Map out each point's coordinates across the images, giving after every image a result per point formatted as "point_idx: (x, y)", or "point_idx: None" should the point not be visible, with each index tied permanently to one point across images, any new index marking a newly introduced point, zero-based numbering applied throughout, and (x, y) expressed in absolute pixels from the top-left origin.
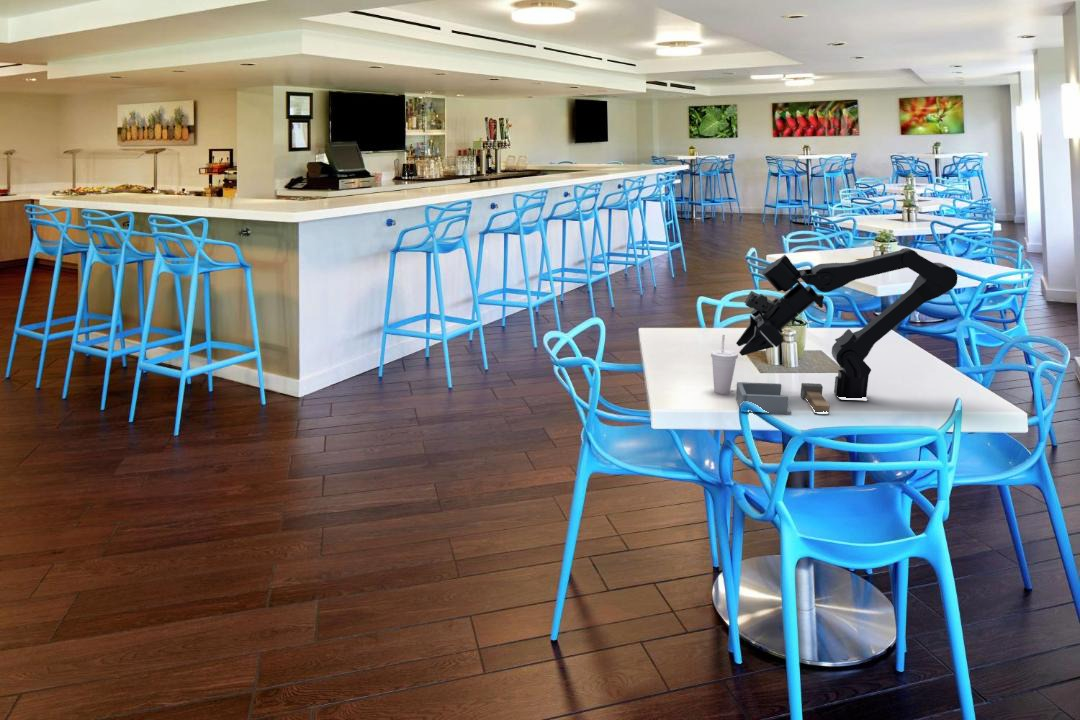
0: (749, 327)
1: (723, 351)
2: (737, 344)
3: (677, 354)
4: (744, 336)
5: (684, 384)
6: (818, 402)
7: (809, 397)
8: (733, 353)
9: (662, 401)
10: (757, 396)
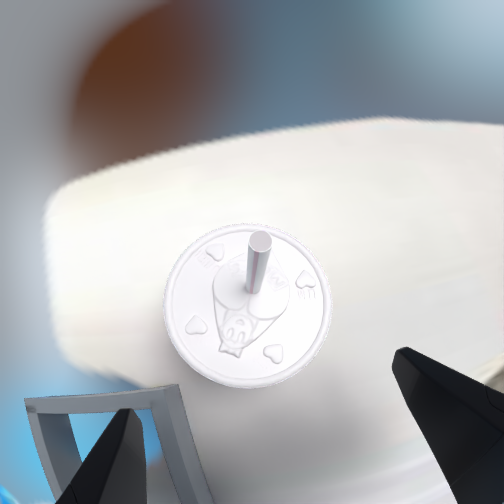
0: (499, 433)
1: (250, 292)
2: (394, 357)
3: (497, 169)
4: (439, 400)
5: (281, 203)
6: None
7: None
8: (264, 358)
9: (99, 184)
10: (37, 444)
